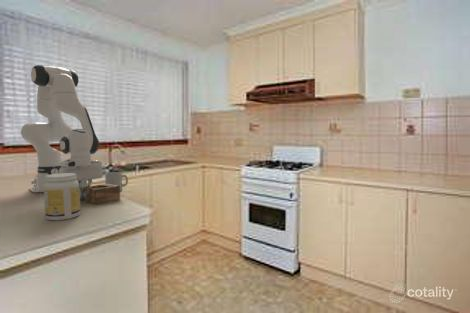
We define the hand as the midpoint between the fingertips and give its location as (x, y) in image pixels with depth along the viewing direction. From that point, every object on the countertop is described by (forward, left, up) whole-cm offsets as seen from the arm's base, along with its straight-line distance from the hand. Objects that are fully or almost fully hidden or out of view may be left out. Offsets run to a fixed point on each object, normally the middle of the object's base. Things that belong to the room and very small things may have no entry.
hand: (82, 189), depth 144 cm
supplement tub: (+24, -19, -5) cm, 31 cm away
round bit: (0, 0, -5) cm, 5 cm away
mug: (-4, +21, -5) cm, 22 cm away
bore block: (+10, +5, -5) cm, 12 cm away
